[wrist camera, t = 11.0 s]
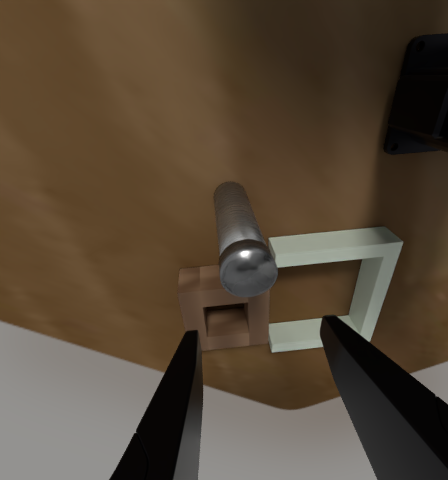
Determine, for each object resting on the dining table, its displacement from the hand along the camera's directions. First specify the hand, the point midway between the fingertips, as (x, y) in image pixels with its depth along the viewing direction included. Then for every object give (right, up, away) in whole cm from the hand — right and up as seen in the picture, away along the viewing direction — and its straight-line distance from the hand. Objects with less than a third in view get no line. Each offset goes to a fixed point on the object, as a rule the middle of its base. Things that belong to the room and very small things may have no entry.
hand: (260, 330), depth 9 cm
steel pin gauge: (-1, +6, +10) cm, 12 cm away
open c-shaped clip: (+7, -1, +15) cm, 17 cm away
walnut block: (-1, -2, +15) cm, 15 cm away
